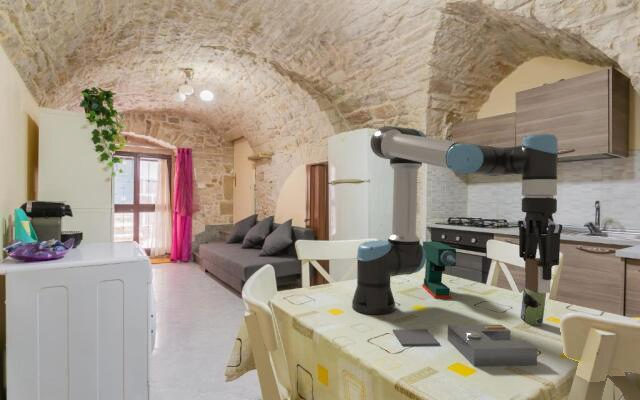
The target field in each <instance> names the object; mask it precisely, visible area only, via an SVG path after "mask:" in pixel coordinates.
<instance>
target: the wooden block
mask: <svg viewBox="0 0 640 400" xmlns="http://www.w3.org/2000/svg"><path fill="white" fill-rule="evenodd" d="M538 264H541V263H540V257H536V258H526V268H525V267H524V268H525V269H524V272H525V273H524V274H525V277H524V279H525V280H524V283H525V284H524V288H526V289H527V290H530V291H532V292H535V293H539V292H538Z"/></svg>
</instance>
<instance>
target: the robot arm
mask: <svg viewBox="0 0 640 400" xmlns="http://www.w3.org/2000/svg"><path fill="white" fill-rule="evenodd" d="M370 148H371V150H372V152H373V153H374V154H375V156H377V157H379V158H381V159H384V160H386V159H387V160H389V166H390V167H391V168H392V169H393V192H392V194H393V195H392V222H391V223H392V227H391V231H392V232H391V234H390V235H389V236H388V237H387V240H383V239H382V240H370V241H366V242H365V241H364V242H362V243H361V244H359V245H358V247H357V255H356V259H357V262H356V263H357V267H356V269H357V272H356V273H357V274H356V279H357V281H356V283H357V284H356V289H355V291H354V294H353V297H352V299H351V303H352V304H351V308H352V309H353V310H354V311H356V312H358V313H362V314H367V315H386V314H391V313H393V312H395V311H396V301H395V298H394V294H393V292H392V288H391V277H397V276H403V275H405V276H407V275H408V276H409V275H412V274H415V273H419V272H421V270H422V269H423V268H424V266H425V265H426V252H425V250H424V247H423V244H421V243H420V242H421V239H420V238H419V237H418V235H417V233H416V232H417V209H418V208H417V202H418V201H417V200H418V199H417V197H418V176H419V175H418V174H419V173H418V172H419V169H420V168H422V166H423V164H426V165H430V166H431V165H432V166H435V167H440V168H445V169H450V170H451V171H453V172H454V173H458V174H463V175H464V174H465V175H467V174H469V175H470V174H477V175H483V176H488V177H489V176H490V177H493V176H494V177H498V176H508V175H509V176H510V175H511V176H513V175H521V177H522V178H521V195H522V196H523V197H522V198H521V212H523V213H526V214H525V216H524V219H523V220H518V221H517V225H518V229H519V230H518V233H519V235H518V237H519V238H518V241H519V242H518V243H519V245H518V246H519V247H518V251H519V252H518V254H519V258H522V259H523V261H524V268H526V258H537V251H538V253H539V258H540V263H541V264H538V292H539V293H546V294H550V293H551V285H552V284H551V280H552V277H553V275H552V269H553V267H554V266H559V264H560V254H561V253H560V252H561V251H560V250H561V249H560V248H561V234H562V231H563V225H562V224H560V223H559V224H557V223H556V222H554V217H553V214H555V213H557V211H558V199H557V198H556V196H558V189H557V188H558V157H559V156H558V154H560V153H559V147H558V138H557V136H556V135H554V134H547V133H546V134H545V133H539V134H538V133H537V134H532V135H531V134H530V135H527V136H524V137H523V138H522V143H521V145H516V146H505V147H502V146H501V147H500V146H492V145H491V146H490V145H482V144H475V143H469V142H462V141H461V142H459V141H454V140H453V141H452V140H447V139H440V138H439V139H438V138H433V137H427V135H426V134H425V133H424V132H423V131H421V130H417V129H415V128H410V127H408V128H407V127H400V126H398V127H397V126H391V125H386V126H382V127H379V128H377V129H376V130H375V131H374V132H373V134H372V135H371V138H370ZM554 196H555V197H554Z"/></svg>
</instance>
